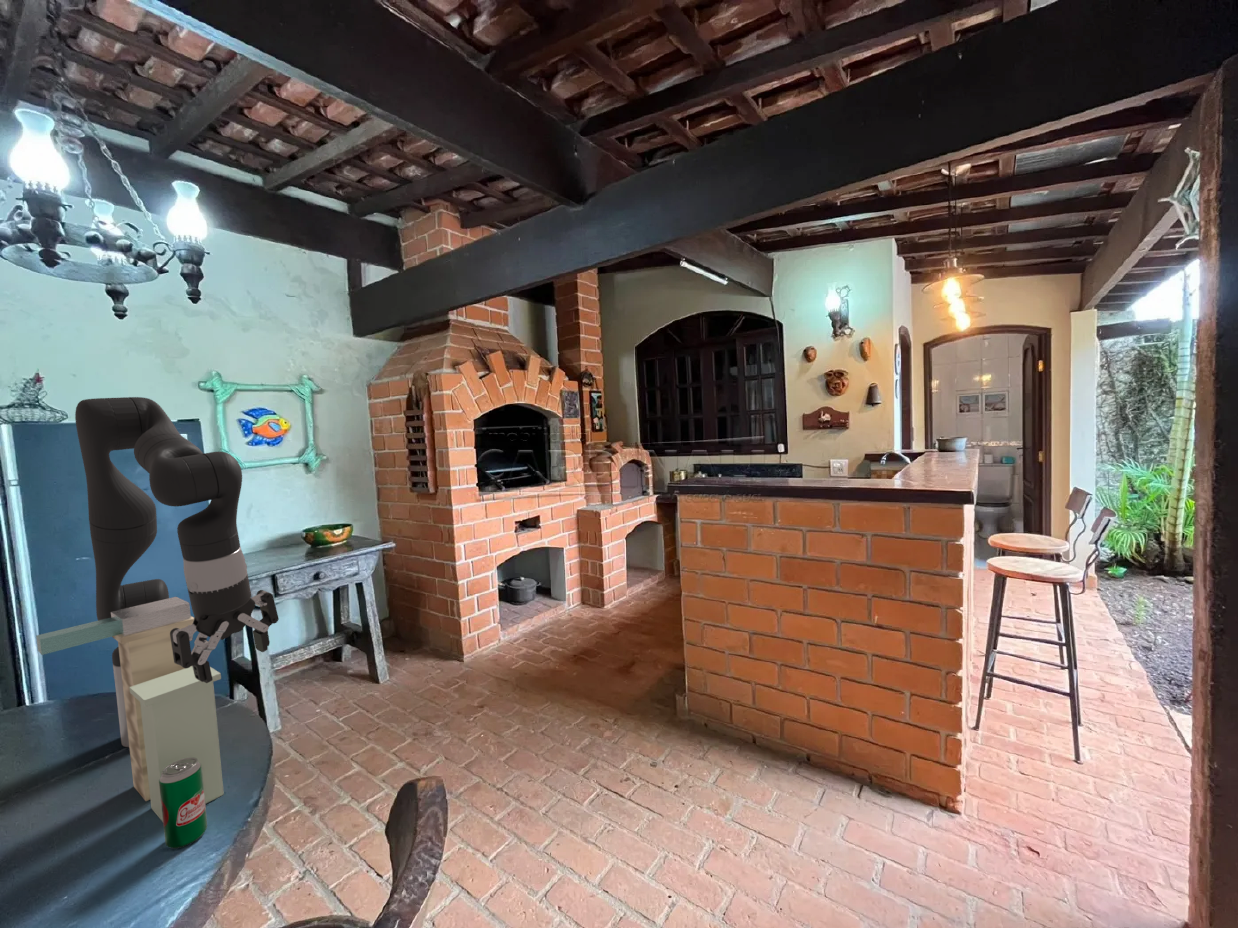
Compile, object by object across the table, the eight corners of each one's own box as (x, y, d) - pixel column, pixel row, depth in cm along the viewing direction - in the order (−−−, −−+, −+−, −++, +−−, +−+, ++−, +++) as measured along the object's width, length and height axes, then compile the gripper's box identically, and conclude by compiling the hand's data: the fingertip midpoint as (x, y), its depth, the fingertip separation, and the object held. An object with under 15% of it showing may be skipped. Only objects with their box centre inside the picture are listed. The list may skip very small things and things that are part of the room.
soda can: (183, 853, 76) (175, 779, 76) (157, 848, 77) (149, 775, 77) (215, 827, 81) (209, 757, 80) (190, 822, 82) (183, 753, 81)
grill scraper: (35, 647, 81) (33, 629, 81) (177, 611, 96) (176, 596, 96) (44, 657, 77) (42, 639, 77) (190, 618, 92) (189, 602, 92)
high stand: (125, 788, 91) (107, 628, 89) (194, 757, 99) (179, 610, 97) (139, 805, 87) (120, 638, 84) (210, 771, 95) (195, 618, 93)
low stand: (142, 810, 85) (129, 686, 84) (214, 775, 94) (203, 662, 92) (158, 830, 81) (144, 700, 79) (231, 791, 89) (220, 673, 88)
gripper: (250, 554, 87) (264, 635, 91) (148, 592, 74) (171, 684, 78) (278, 564, 84) (292, 647, 88) (177, 605, 71) (199, 700, 76)
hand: (235, 664), depth 83 cm, fingers open, 8 cm apart
